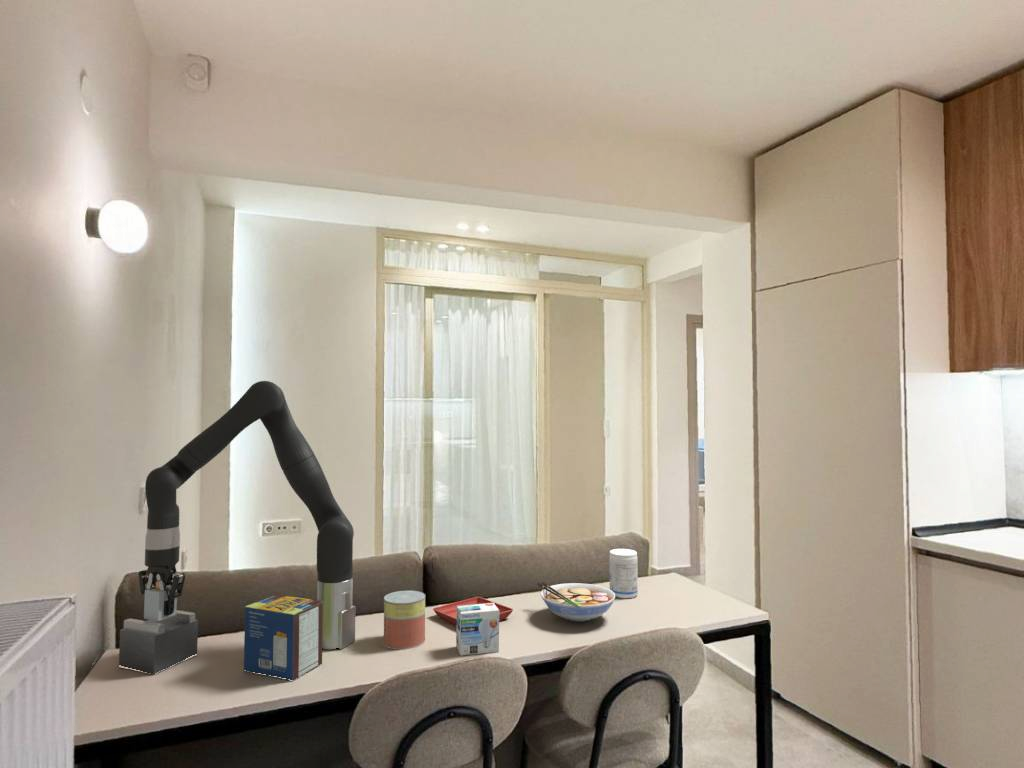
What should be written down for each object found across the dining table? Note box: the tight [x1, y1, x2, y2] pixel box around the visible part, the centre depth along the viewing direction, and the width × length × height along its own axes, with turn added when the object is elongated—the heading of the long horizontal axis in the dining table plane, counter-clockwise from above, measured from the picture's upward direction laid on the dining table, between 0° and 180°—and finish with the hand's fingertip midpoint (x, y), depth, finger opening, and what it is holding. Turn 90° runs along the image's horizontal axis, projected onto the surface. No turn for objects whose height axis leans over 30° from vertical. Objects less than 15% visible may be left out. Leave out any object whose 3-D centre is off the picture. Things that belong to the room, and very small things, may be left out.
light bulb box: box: [455, 603, 500, 656], centre depth 153 cm, size 11×7×11 cm, turn 105°
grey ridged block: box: [118, 609, 199, 675], centre depth 146 cm, size 12×12×11 cm
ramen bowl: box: [536, 581, 616, 623], centre depth 176 cm, size 25×23×8 cm
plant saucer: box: [432, 596, 514, 626], centre depth 176 cm, size 18×18×3 cm
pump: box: [143, 581, 178, 621], centre depth 146 cm, size 5×5×9 cm
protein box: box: [243, 594, 323, 681], centre depth 142 cm, size 10×15×16 cm
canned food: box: [383, 589, 426, 650], centre depth 159 cm, size 11×11×12 cm
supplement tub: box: [608, 548, 639, 599], centre depth 199 cm, size 10×10×15 cm
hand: (160, 613), depth 146 cm, fingers closed on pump, 5 cm apart
